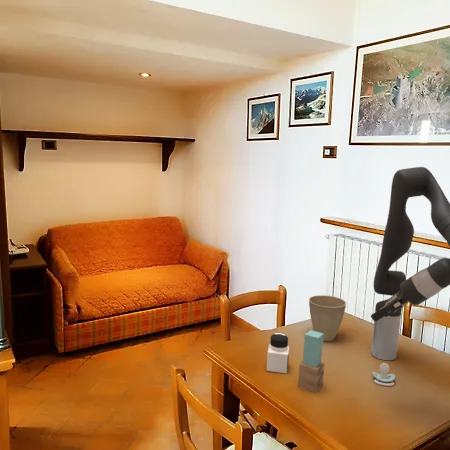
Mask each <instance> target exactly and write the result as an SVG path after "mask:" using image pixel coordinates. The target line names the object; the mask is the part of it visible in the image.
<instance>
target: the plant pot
mask: <svg viewBox="0 0 450 450" xmlns="http://www.w3.org/2000/svg"><path fill="white" fill-rule="evenodd" d="M308 304H309V314H310V319H311V323H312V324H311V325H312V328H313V331H316V332H320V333H323V334H324V336H323V342H331V341H334V339H335V338H336V335H337V334H338V332H339V330H340V327H341V325H342V321H343V317H344V316H345V315H344V314H345V311H346V307H347V301H346V300H344V299H343V298H340V297H337V296H333V295H327V294H326V295H323V294H322V295H321V294H319V295H313V296H310V297H308Z"/></svg>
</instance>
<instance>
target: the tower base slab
mask: <svg viewBox="0 0 450 450" xmlns="http://www.w3.org/2000/svg"><path fill="white" fill-rule="evenodd" d="M297 383H298V384H297V387H298V388H301V389H303V390H306V391H310V392H312V393H315V394H316V393H317V391H319V390H320V388H322V386H323V384H324V375H322V376H321V377H320V378H319V379H318V380H317V381H313V380H310V379H307V378H305V377H302V376H299V375H298V381H297Z"/></svg>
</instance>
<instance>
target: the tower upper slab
mask: <svg viewBox="0 0 450 450" xmlns="http://www.w3.org/2000/svg"><path fill="white" fill-rule="evenodd" d="M325 364H326V363H325V362H323V361H321V363H320V364H319V365H318V366H317V367H316V368H314V367H311V366H308V365H305V364H303V361H301V362H300V363H299V369H298V377H299V376H302V377H305V378H307V379H310V380H313V381H317V380H318V379H319V378H320V377H321V376H322V375H323V376H324V375H325Z"/></svg>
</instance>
